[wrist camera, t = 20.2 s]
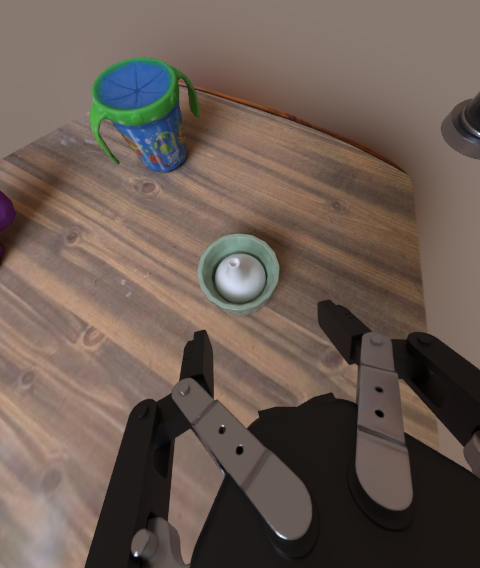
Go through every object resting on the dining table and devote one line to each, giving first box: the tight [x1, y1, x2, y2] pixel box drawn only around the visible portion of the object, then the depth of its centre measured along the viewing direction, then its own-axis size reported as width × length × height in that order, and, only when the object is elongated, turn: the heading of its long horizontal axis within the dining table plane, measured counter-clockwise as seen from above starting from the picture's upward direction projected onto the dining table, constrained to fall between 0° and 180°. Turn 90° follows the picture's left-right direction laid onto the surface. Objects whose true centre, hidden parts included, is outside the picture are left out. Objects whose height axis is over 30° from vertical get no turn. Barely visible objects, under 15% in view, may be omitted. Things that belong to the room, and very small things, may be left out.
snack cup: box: [90, 58, 200, 173], centre depth 29 cm, size 16×10×10 cm
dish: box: [198, 233, 280, 316], centre depth 24 cm, size 9×9×5 cm
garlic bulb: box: [215, 254, 266, 304], centre depth 22 cm, size 6×6×8 cm
